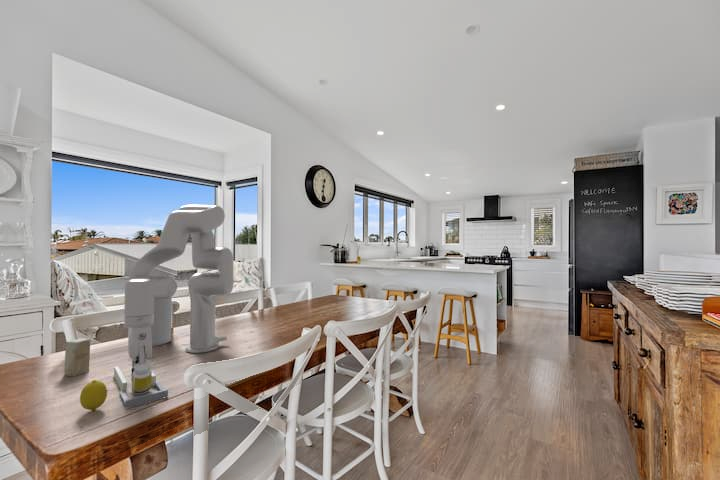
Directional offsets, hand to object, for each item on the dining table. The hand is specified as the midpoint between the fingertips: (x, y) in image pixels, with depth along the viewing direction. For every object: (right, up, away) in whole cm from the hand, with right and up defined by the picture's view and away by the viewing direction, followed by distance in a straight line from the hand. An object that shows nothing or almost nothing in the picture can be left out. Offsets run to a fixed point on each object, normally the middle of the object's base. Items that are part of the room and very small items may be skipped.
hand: (138, 380), depth 101 cm
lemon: (-3, -3, -13) cm, 14 cm away
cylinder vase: (-23, -3, +46) cm, 51 cm away
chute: (-5, -2, +6) cm, 8 cm away
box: (-28, -2, +11) cm, 30 cm away
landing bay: (+4, -3, -4) cm, 7 cm away
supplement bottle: (+2, -2, -2) cm, 3 cm away
